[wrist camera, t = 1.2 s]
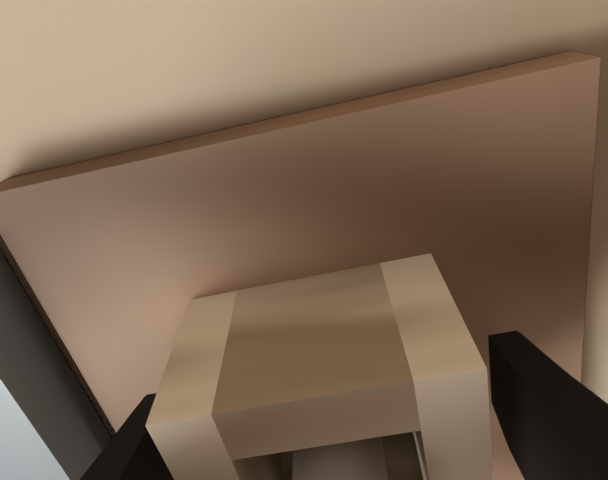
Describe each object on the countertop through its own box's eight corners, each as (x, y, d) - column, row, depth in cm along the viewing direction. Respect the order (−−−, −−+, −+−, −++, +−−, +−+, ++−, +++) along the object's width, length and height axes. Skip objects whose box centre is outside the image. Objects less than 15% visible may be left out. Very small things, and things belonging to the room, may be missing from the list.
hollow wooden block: (450, 426, 13) (499, 568, 10) (253, 457, 13) (239, 601, 10) (430, 253, 10) (486, 368, 7) (189, 299, 11) (145, 425, 8)
